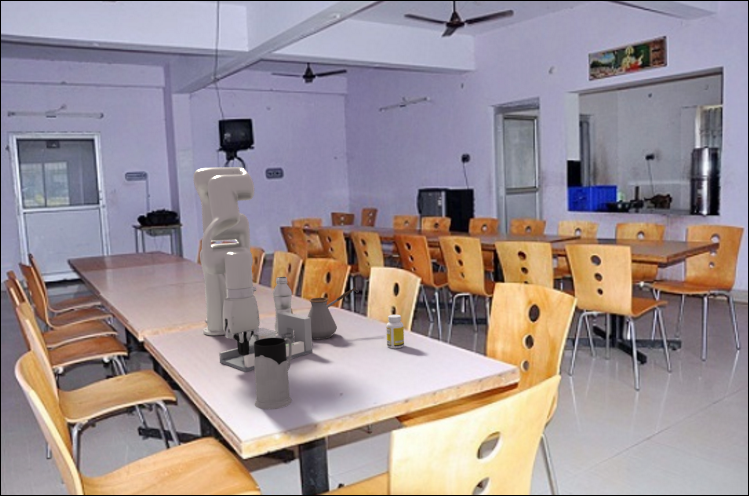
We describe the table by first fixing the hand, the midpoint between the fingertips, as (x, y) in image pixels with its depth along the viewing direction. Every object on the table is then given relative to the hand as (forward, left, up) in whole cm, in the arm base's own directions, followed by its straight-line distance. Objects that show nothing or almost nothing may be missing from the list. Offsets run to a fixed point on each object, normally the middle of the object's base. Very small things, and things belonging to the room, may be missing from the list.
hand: (243, 354), depth 177 cm
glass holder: (+32, -10, -3) cm, 34 cm away
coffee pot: (-5, +39, -3) cm, 39 cm away
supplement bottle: (+23, +41, -3) cm, 47 cm away
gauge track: (+1, +8, -3) cm, 8 cm away
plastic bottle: (-18, +28, -3) cm, 33 cm away
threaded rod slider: (+2, +10, -1) cm, 10 cm away
